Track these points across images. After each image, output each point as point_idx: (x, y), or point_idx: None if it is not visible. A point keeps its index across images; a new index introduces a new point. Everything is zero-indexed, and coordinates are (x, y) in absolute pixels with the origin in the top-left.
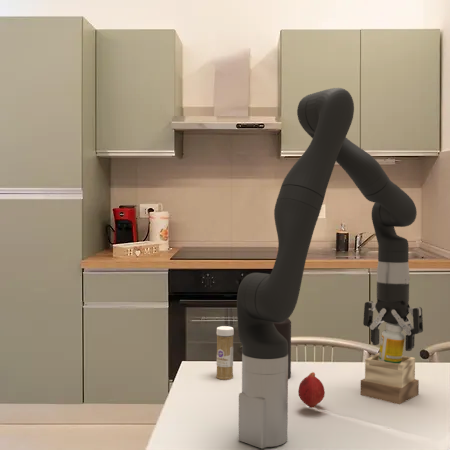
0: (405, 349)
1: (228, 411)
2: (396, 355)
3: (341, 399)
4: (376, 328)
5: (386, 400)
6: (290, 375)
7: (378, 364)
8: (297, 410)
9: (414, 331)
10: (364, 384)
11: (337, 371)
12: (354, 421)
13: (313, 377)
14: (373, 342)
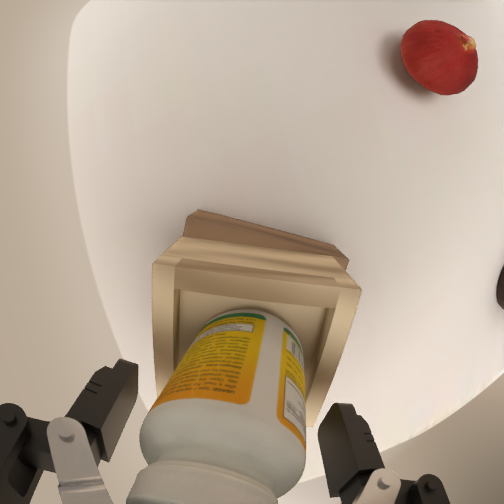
0: (134, 364)
1: (499, 28)
2: (196, 344)
3: (374, 170)
4: (351, 490)
5: (242, 221)
6: (501, 288)
7: (287, 276)
8: None
9: (19, 421)
10: (330, 252)
11: (407, 398)
12: (280, 10)
13: (457, 34)
14: (349, 410)
